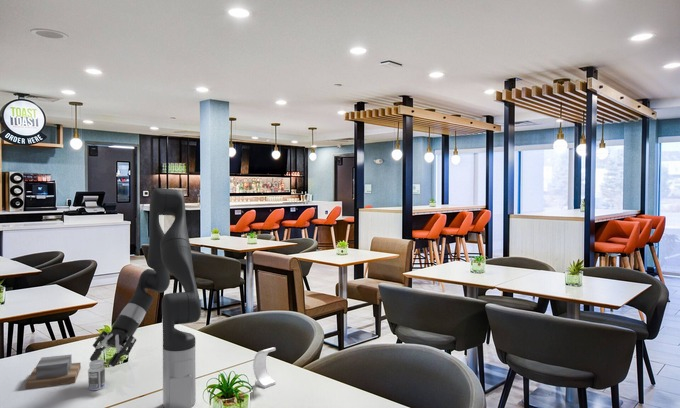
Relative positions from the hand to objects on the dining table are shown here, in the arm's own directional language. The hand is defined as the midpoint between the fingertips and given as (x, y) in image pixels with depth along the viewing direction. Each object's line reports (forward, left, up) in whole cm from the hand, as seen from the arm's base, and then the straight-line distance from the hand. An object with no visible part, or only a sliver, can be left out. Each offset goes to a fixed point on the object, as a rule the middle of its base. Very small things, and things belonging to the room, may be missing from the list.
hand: (101, 363), depth 157 cm
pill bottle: (-1, +1, -7) cm, 8 cm away
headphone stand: (-17, -50, -7) cm, 53 cm away
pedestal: (+13, +15, -7) cm, 21 cm away
